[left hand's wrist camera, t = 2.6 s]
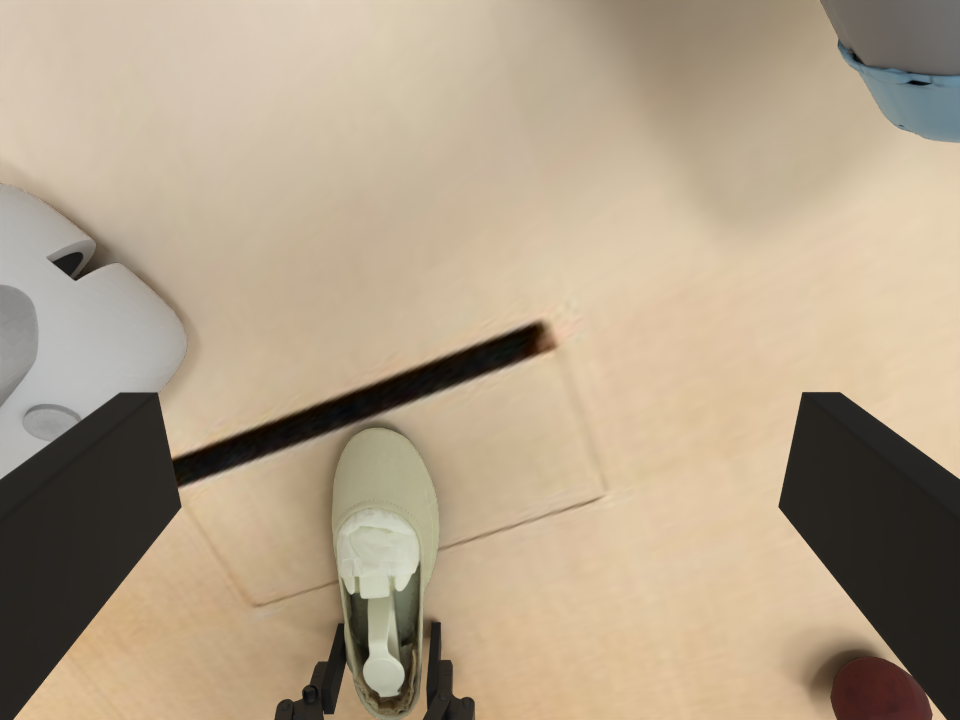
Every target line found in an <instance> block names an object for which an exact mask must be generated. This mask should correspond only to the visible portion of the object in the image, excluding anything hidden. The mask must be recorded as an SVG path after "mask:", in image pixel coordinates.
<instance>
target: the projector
mask: <svg viewBox="0 0 960 720" xmlns="http://www.w3.org/2000/svg"><path fill="white" fill-rule="evenodd" d="M95 250H96V242H95V241H94V240H93V239H91V238H90V237H89V236H88V235H87V234H85V233H84V232H83V231H82V230H80V229H79V228H78V227H77V226H76V225H74V224H73V223H72V222H70V221H69V220H68V219H67V218H65V217H64V216H63V215H61V214H60V213H59V212H57V211H56V210H55V209H53V208H52V207H51V206H49V205H48V204H46V203H45V202H43V201H42V200H40V199H39V198H37V197H35V196H33V195H32V194H30V193H28V192H26V191H23V190H21V189H19V188H16V187H13V186H9V185H5V184H1V183H0V479H2V478H3V477H4V476H6V475H7V474H8V473H10V472H11V471H13V470H14V469H15V468H17V467H18V466H19V465H21V464H22V463H23V462H25V461H26V460H28V459H29V458H30V457H32V456H33V455H34V454H36V453H37V452H39V451H40V450H41V449H43V448H44V447H45V446H47V445H48V444H50V443H51V442H52V441H54V440H55V439H56V438H58V437H59V436H61V435H62V434H63V433H65V432H66V431H67V430H69V429H70V428H72V427H73V426H74V425H76V424H77V423H78V422H80V421H81V420H83V419H84V418H85V417H87V416H88V415H89V414H91V413H92V412H94V411H95V410H96V409H98V408H99V407H100V406H102V405H103V404H105V403H106V402H107V401H109V400H110V399H111V398H113V397H114V396H116V395H117V394H118V393H120V392H158V394H159V392H160V391H161V390H162V389H163V388H164V386H165V385H166V384H167V383H168V382H169V380H170V379H171V378H172V376H173V375H174V374H175V372H176V371H177V369H178V368H179V366H180V364H181V363H182V361H183V359H184V357H185V354H186V351H187V345H188V344H187V336H186V332H185V329H184V327H183V325H182V323H181V321H180V320H179V318H178V317H177V315H176V314H175V313H174V311H173V310H172V309H171V308H170V307H169V306H168V305H167V304H166V302H165V301H164V300H163V299H162V298H161V297H159V296H158V295H157V294H156V293H155V292H154V291H153V290H152V289H151V288H150V287H149V286H147V285H146V284H145V283H144V282H143V281H142V280H141V279H139V278H138V277H137V276H136V275H135V274H134V273H132V272H131V271H130V270H129V269H128V268H126V267H125V266H124V265H123V264H120V263H114V264H109V265H106V266H104V267H101V268H99V269H97V270H95V271H92V272H91V273H89V274H87V275H85V276H83V277H82V278H80V279H78V280H77V281H74V278H75V277H76V276H77V275H78V274H79V273H80V271H81V270H82V269H83V268H84V267H85V265H86V264H87V263H88V262H89V260H90V259H91V257H92V256H93V254H94V252H95Z"/></svg>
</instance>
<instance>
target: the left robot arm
mask: <svg viewBox="0 0 960 720" xmlns="http://www.w3.org/2000/svg"><path fill="white" fill-rule="evenodd" d="M820 1H821V3H822V5H823V7H824V9H825V11H826V13H827V15H828V17H829V19H830V21H831V23H832V25H833V27H834V29H835V31H836V33H837V35H838V37H839V40H838V49H839V50H840V53H841V55H842V57H843V59H844V60H845V61H846V62H847V63H848V64H849V66H851V67H852V68H854V69H855V70H857V71H858V72H859V74H860V75H861V77H862V79H863V80H864V82H865V84H866V86H867V87H868V89H869V91H870V92H871V94H872V96H873V98H874V99H875V101H876V103H877V105H878V106H879V108H880V110H881V112H882V113H883V114H884V116H885V117H886V118H887V119H888V120H889V121H890V122H891V123H893V124H894V125H895V126H896V127H898V128H900V129H902V130H906V131H909V132H913V133H915V134H918V135H920V136H921V137H923V138H926V139H930V140H935V141H942V142H954V143H960V0H820ZM180 508H181V502H180V497H179V492H178V487H177V483H176V478H175V473H174V468H173V464H172V459H171V454H170V449H169V444H168V440H167V435H166V430H165V425H164V420H163V416H162V411H161V406H160V401H159V397H158V392H120V393H118V394H117V395H116V396H114V397H113V398H111V399H110V400H109V401H107V402H106V403H105V404H103V405H102V406H100V407H99V408H98V409H96V410H95V411H94V412H92V413H91V414H89V415H88V416H87V417H85V418H84V419H83V420H81V421H80V422H78V423H77V424H76V425H74V426H73V427H72V428H70V429H69V430H67V431H66V432H65V433H63V434H62V435H61V436H59V437H58V438H56V439H55V440H54V441H52V442H51V443H50V444H48V445H47V446H45V447H44V448H43V449H41V450H40V451H39V452H37V453H36V454H34V455H33V456H32V457H30V458H29V459H28V460H26V461H25V462H23V463H22V464H21V465H19V466H18V467H17V468H15V469H14V470H13V471H11V472H10V473H8V474H7V475H6V476H4V477H3V478H2V479H0V720H13V719H14V718H15V717H16V715H17V714H18V713H19V712H20V710H21V709H22V708H23V707H24V705H25V704H26V703H27V702H28V700H29V699H30V698H31V696H32V695H33V694H34V693H35V691H36V690H37V689H38V688H39V686H40V685H41V684H42V683H43V681H44V680H45V679H46V678H47V676H48V675H49V674H50V672H51V671H52V670H53V669H54V667H55V666H56V665H57V664H58V662H59V661H60V660H61V659H62V657H63V656H64V655H65V654H66V652H67V651H68V650H69V649H70V647H71V646H72V645H73V643H74V642H75V641H76V640H77V638H78V637H79V636H80V635H81V633H82V632H83V631H84V630H85V628H86V627H87V626H88V625H89V623H90V622H91V621H92V619H93V618H94V617H95V616H96V614H97V613H98V612H99V611H100V609H101V608H102V607H103V606H104V604H105V603H106V602H107V601H108V599H109V598H110V597H111V595H112V594H113V593H114V592H115V590H116V589H117V588H118V587H119V585H120V584H121V583H122V582H123V580H124V579H125V578H126V577H127V575H128V574H129V573H130V571H131V570H132V569H133V568H134V566H135V565H136V564H137V563H138V561H139V560H140V559H141V558H142V556H143V555H144V554H145V553H146V551H147V550H148V549H149V547H150V546H151V545H152V544H153V542H154V541H155V540H156V539H157V537H158V536H159V535H160V534H161V532H162V531H163V530H164V529H165V527H166V526H167V525H168V524H169V522H170V521H171V520H172V518H173V517H174V516H175V515H176V513H177V512H178V511H179V510H180ZM779 508H780V510H781V511H782V512H783V513H784V515H785V516H786V517H787V518H788V520H789V521H790V522H791V524H792V525H793V526H794V527H795V529H796V530H797V531H798V532H799V534H800V535H801V536H802V537H803V539H804V540H805V541H806V542H807V544H808V545H809V546H810V547H811V549H812V550H813V551H814V553H815V554H816V555H817V556H818V558H819V559H820V560H821V561H822V563H823V564H824V565H825V566H826V568H827V569H828V570H829V571H830V573H831V574H832V575H833V577H834V578H835V579H836V580H837V582H838V583H839V584H840V585H841V587H842V588H843V589H844V590H845V592H846V593H847V594H848V595H849V597H850V598H851V599H852V601H853V602H854V603H855V604H856V606H857V607H858V608H859V609H860V611H861V612H862V613H863V614H864V616H865V617H866V618H867V619H868V621H869V622H870V623H871V625H872V626H873V627H874V628H875V630H876V631H877V632H878V633H879V635H880V636H881V637H882V638H883V640H884V641H885V642H886V643H887V645H888V646H889V647H890V649H891V650H892V651H893V652H894V654H895V655H896V656H897V657H898V659H899V660H900V661H901V662H902V664H903V665H904V666H905V667H906V669H907V670H908V671H909V672H910V674H911V675H912V676H913V678H914V679H915V680H916V681H917V683H918V684H919V685H920V686H921V688H922V689H923V690H924V691H925V693H926V694H927V695H928V696H929V698H930V699H931V700H932V702H933V703H934V704H935V705H936V707H937V708H938V709H939V710H940V712H941V713H942V714H943V715H944V717H945V718H946V719H947V720H960V479H958V478H957V477H956V476H954V475H953V474H952V473H950V472H949V471H947V470H946V469H945V468H943V467H942V466H941V465H939V464H938V463H937V462H935V461H934V460H932V459H931V458H930V457H928V456H927V455H926V454H924V453H923V452H921V451H920V450H919V449H917V448H916V447H915V446H913V445H912V444H910V443H909V442H908V441H906V440H905V439H904V438H902V437H901V436H899V435H898V434H897V433H895V432H894V431H893V430H891V429H890V428H888V427H887V426H886V425H884V424H883V423H882V422H880V421H879V420H877V419H876V418H875V417H873V416H872V415H871V414H869V413H868V412H866V411H865V410H864V409H862V408H861V407H860V406H858V405H857V404H855V403H854V402H853V401H851V400H850V399H849V398H847V397H846V396H844V395H843V394H842V393H840V392H802V397H801V401H800V406H799V411H798V416H797V420H796V425H795V430H794V435H793V440H792V444H791V449H790V454H789V459H788V464H787V468H786V473H785V478H784V483H783V487H782V492H781V497H780V502H779Z"/></svg>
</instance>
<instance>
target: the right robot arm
mask: <svg viewBox="0 0 960 720" xmlns="http://www.w3.org/2000/svg"><path fill="white" fill-rule="evenodd" d="M344 625H345V623H339V624H338V627H337V631H336V635H335V638H334V642H333V646H332V649H331V653H330V657H329V660H328V662H318V663H317V665H316V666H315V668H314V672H313V675H312V678H311V682H310V684H309V685H307V686H306V687H305V688H304V689H303V691H302V696H303V698H302V699H301V700H298V701H295V702H293V701H292V700H290V699H285V700H283V701H281V702H280V703H279V704H278V706H277V709H276V714H275V720H324V717H323V710H324V714H334V711H335V707H336V703H337V698H338V694H339V690H340V686H341V682H342V677H343V673H344V669H345V665H346V661H347V660H346V652H345V644H346V643H345V636H344ZM426 689H427V712H426V714H425V716H424V718H423V720H475V702H474V700H473V699H472V698H470V697H464V698H462V699H458V698H456V697H455V696H454V695H453V694H452V690H453V665H452V663H451V660H441V623H432V628H431V639H430V651H429V663H428V675H427V687H426Z"/></svg>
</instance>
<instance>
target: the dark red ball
mask: <svg viewBox="0 0 960 720" xmlns="http://www.w3.org/2000/svg"><path fill="white" fill-rule="evenodd" d="M830 698H831V702H832V707H833V710H834V713H835V716H836V718H837V720H932V715H933V714H932V711H931V707H930V704H929V701H928V698H927V696H926V694H925V691H924V690H923V689H922V688H921V686H920V685H919V684H918V683H917V681H916V680H915V679H914V678H913V677H912V676H911V675H910V674H908V673H907V672H906V671H904V670H903V669H901V668H900V667H898V666H897V665H895V664H894V663H891V662H889V661H887V660H885V659H881V658H876V657H860V658H857V659H854V660H852V661H850V662H848V663H847V664H846V665H844V666H843V667H842V669H841V670H840V671H839V673H838V674H837V676H836V677H835V680H834V684H833V688H832V692H831V697H830Z"/></svg>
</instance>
